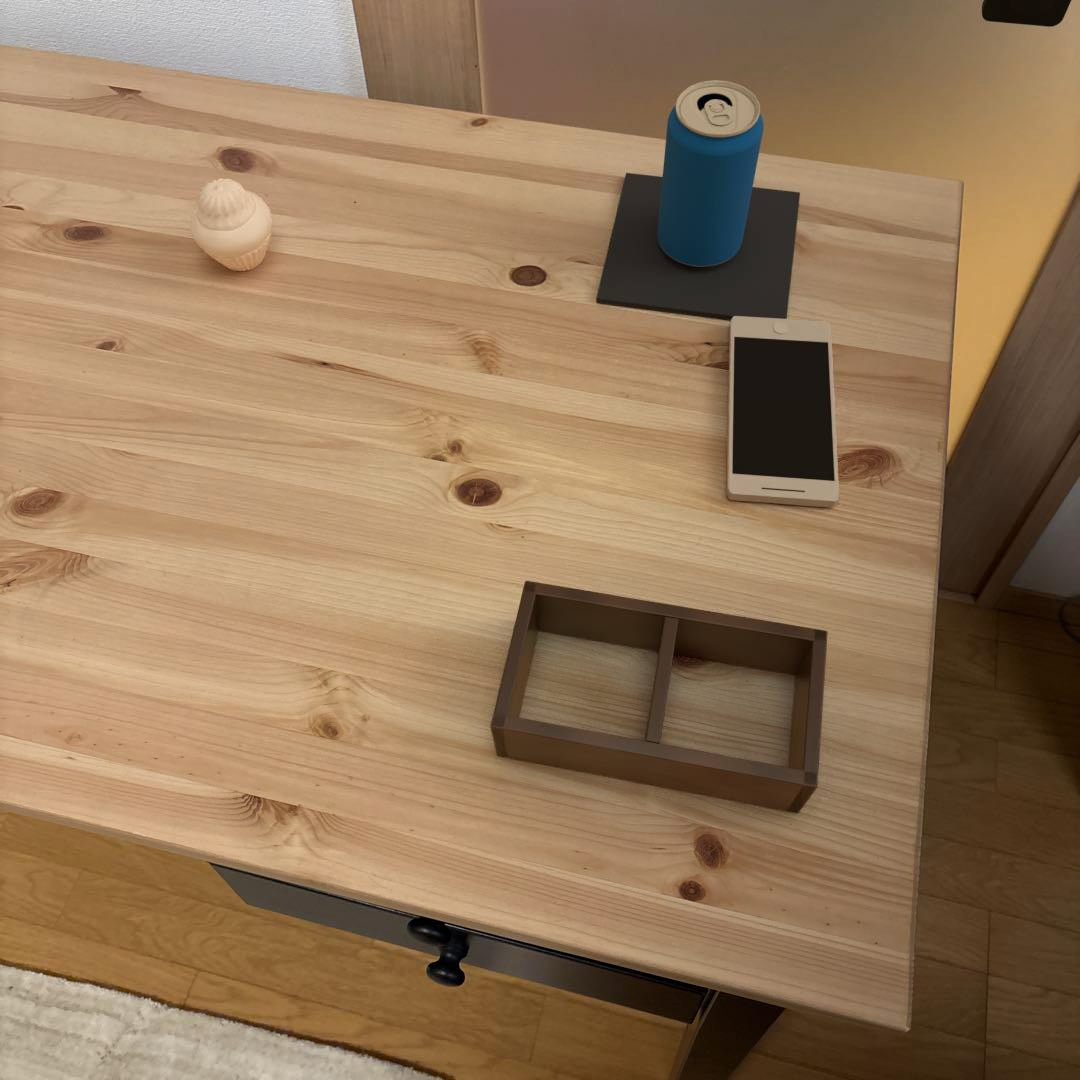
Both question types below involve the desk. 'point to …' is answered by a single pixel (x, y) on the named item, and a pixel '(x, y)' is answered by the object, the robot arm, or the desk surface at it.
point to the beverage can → (709, 172)
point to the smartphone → (781, 412)
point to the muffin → (231, 224)
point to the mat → (712, 291)
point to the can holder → (665, 695)
